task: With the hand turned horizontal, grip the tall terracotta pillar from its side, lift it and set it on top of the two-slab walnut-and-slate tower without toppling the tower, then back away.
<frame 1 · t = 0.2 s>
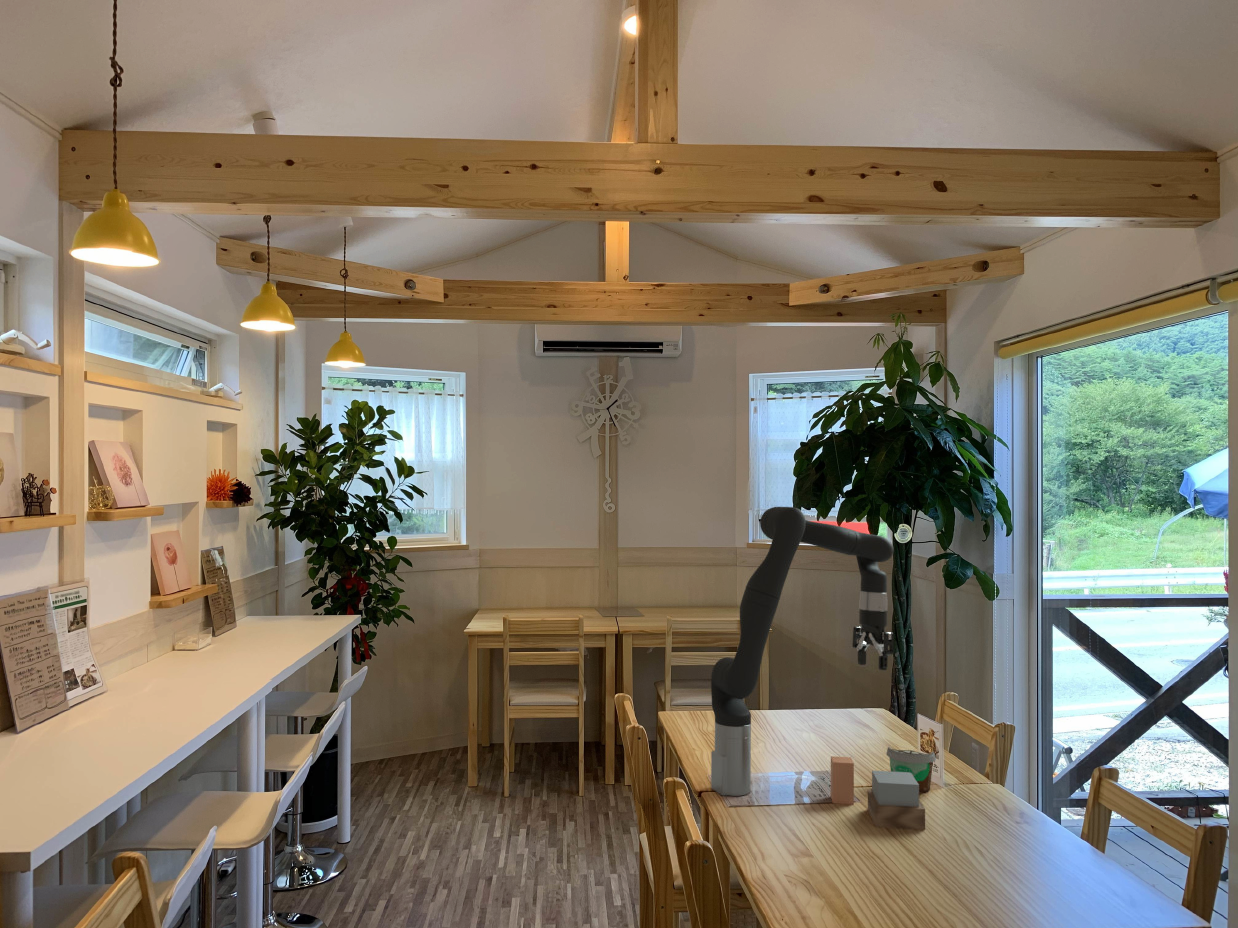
hand: (872, 667, 238), 28 cm above the table, tool pointing down, fingers open, 8 cm apart
terracotta pillar: (842, 800, 214), on the table
food container: (909, 791, 222), on the table
slate top slab: (894, 798, 202), point 5 cm above the table
walnut base slab: (895, 820, 202), on the table
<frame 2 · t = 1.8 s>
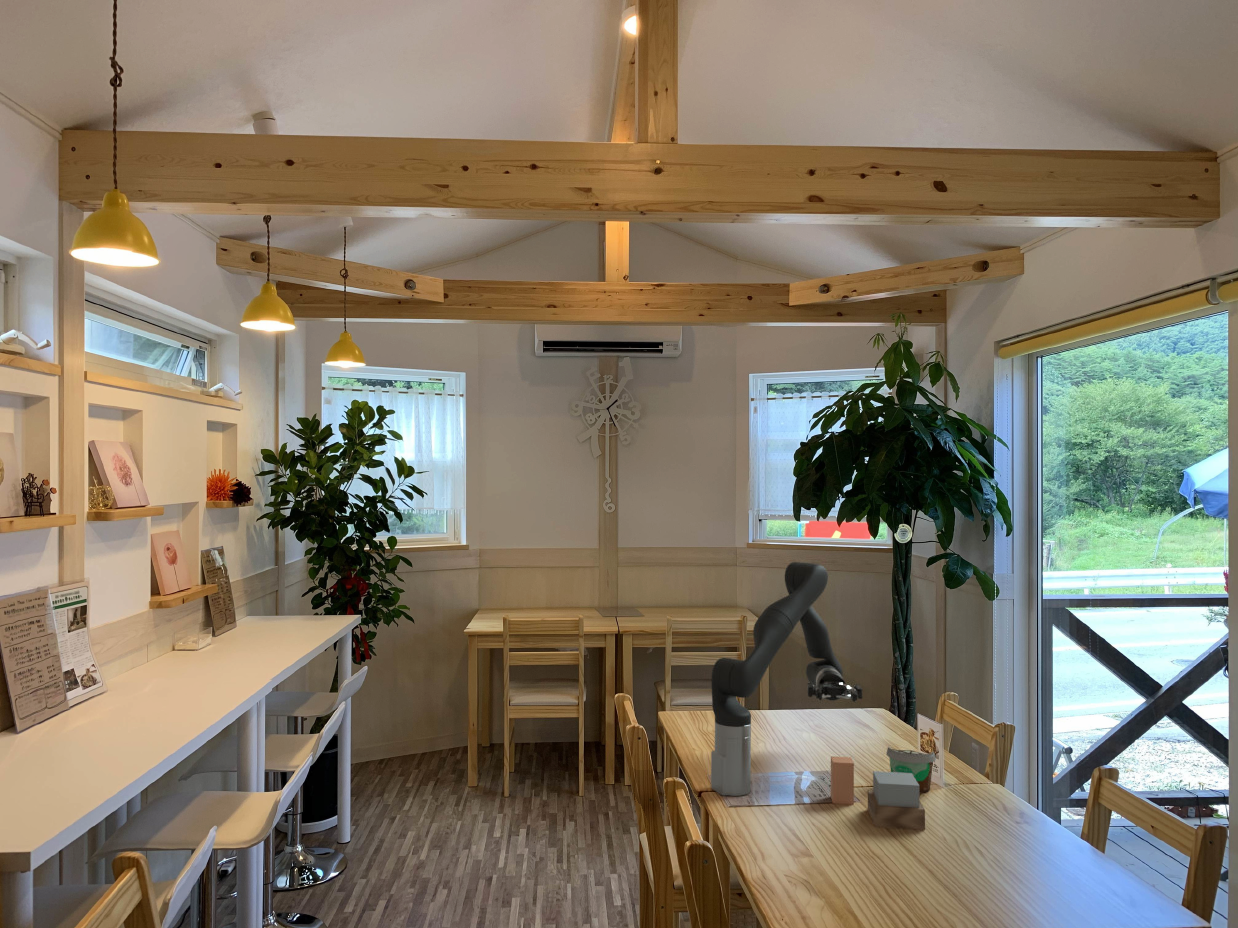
hand: (837, 696, 225), 23 cm above the table, tool horizontal, fingers open, 8 cm apart
nothing on the table moved.
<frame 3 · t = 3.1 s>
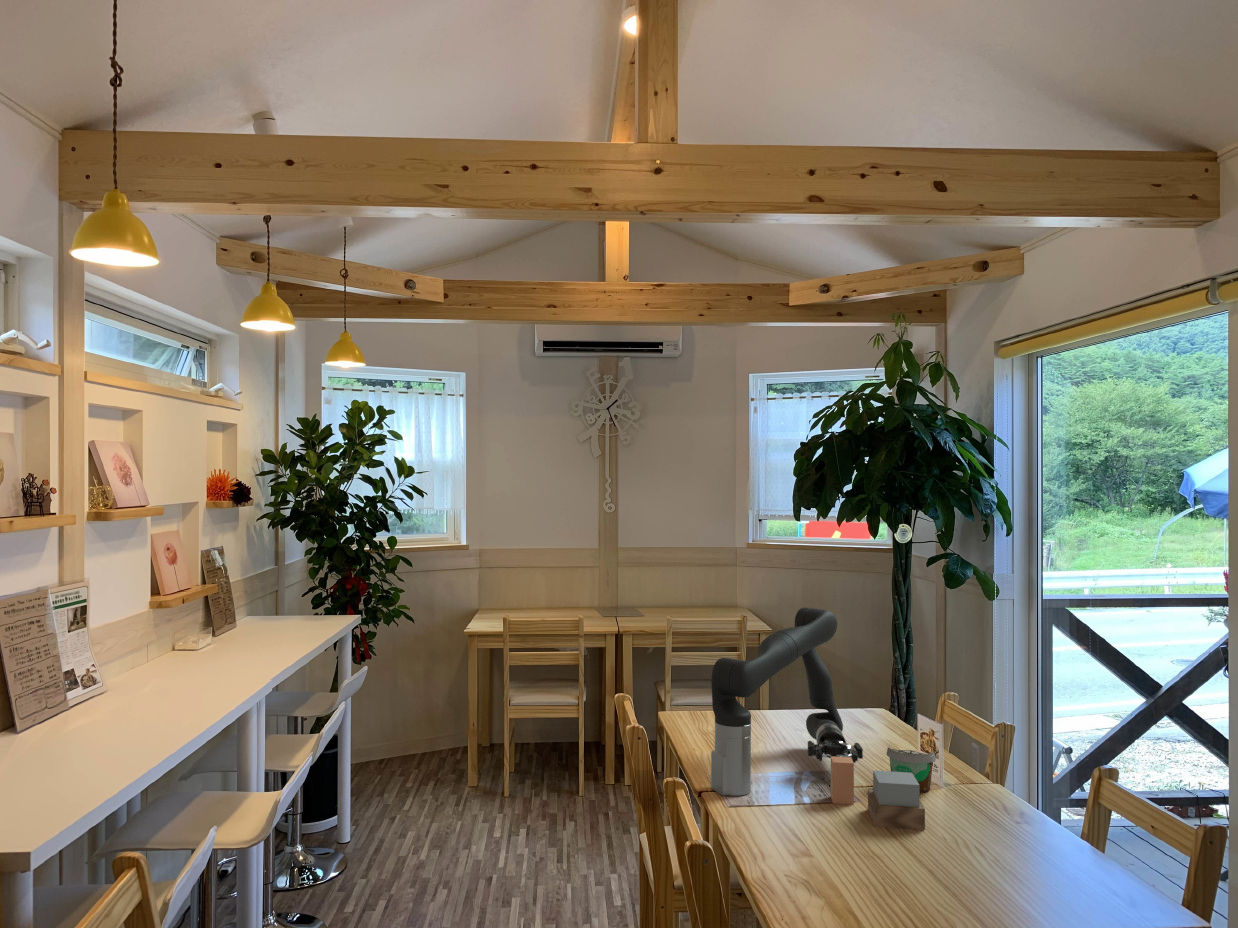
hand: (837, 757, 224), 7 cm above the table, tool horizontal, fingers open, 8 cm apart
slate top slab: (895, 798, 202), point 5 cm above the table, touching walnut base slab
walnut base slab: (895, 820, 202), on the table, touching slate top slab
everything else where it was.
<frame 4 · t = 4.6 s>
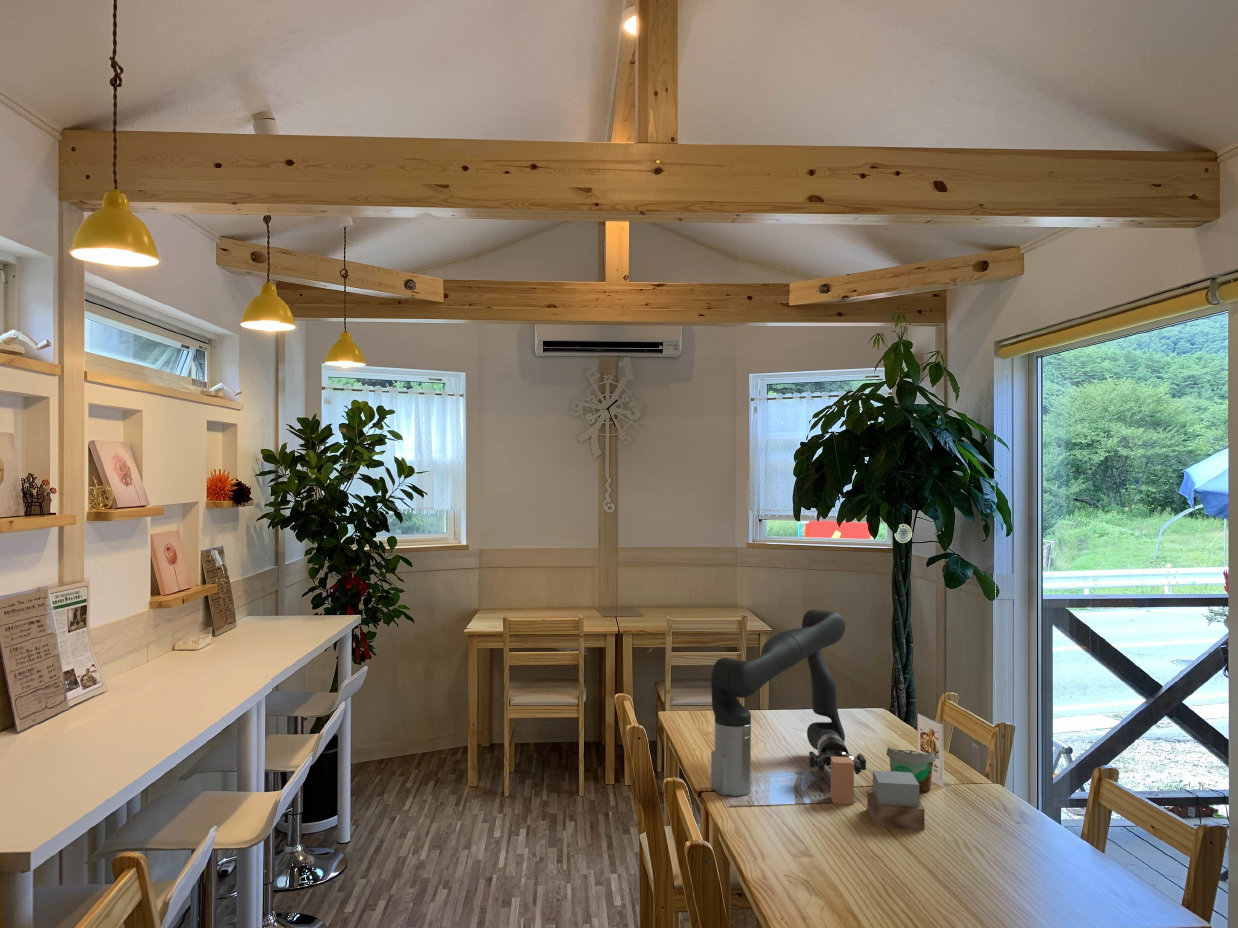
hand: (840, 769, 217), 7 cm above the table, tool horizontal, fingers open, 8 cm apart
slate top slab: (895, 798, 202), point 5 cm above the table
walnut base slab: (895, 820, 202), on the table
everything else where it was.
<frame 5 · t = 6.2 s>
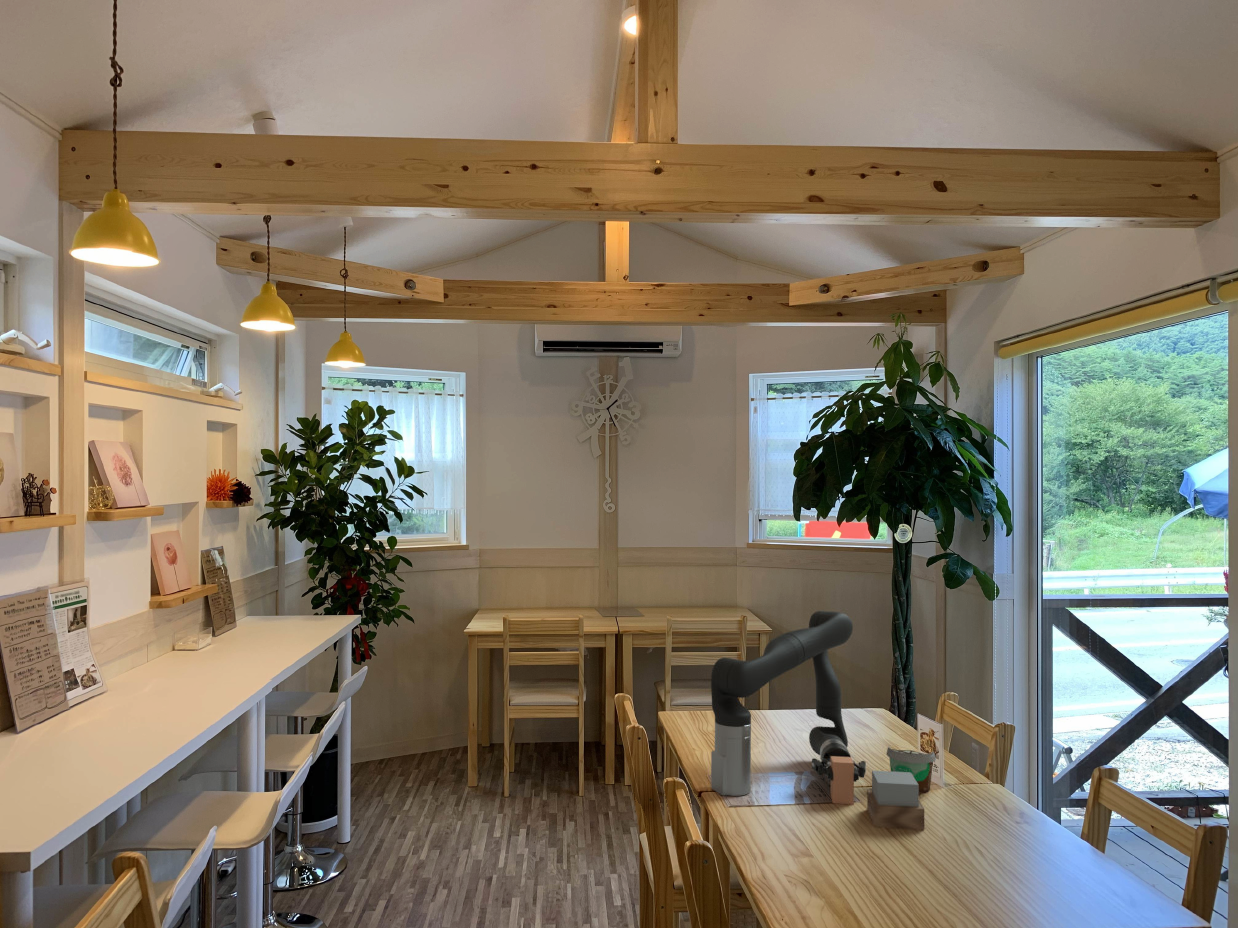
hand: (843, 776, 212), 7 cm above the table, tool horizontal, fingers closed on terracotta pillar, 5 cm apart
terracotta pillar: (842, 800, 214), on the table, touching gripper
slate top slab: (894, 798, 202), point 5 cm above the table, touching walnut base slab
walnut base slab: (894, 820, 201), on the table, touching slate top slab
everything else where it was.
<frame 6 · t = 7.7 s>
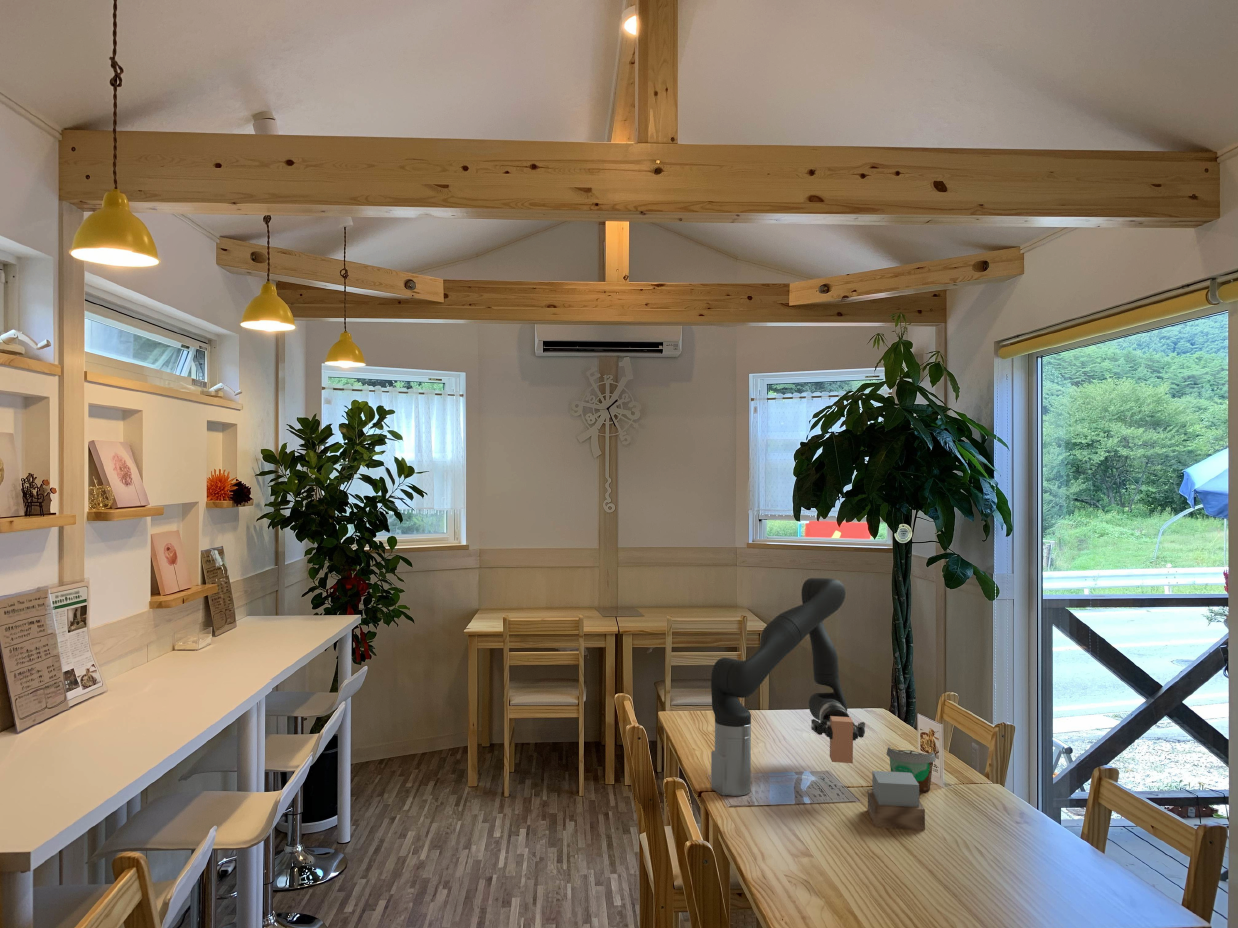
hand: (842, 735, 212), 17 cm above the table, tool horizontal, fingers closed on terracotta pillar, 5 cm apart
terracotta pillar: (841, 759, 214), point 10 cm above the table, touching gripper
everything else where it was.
when the fingers open (18 cm above the table, at t = 11.7 s): terracotta pillar drops 2 cm, point 10 cm above the table.
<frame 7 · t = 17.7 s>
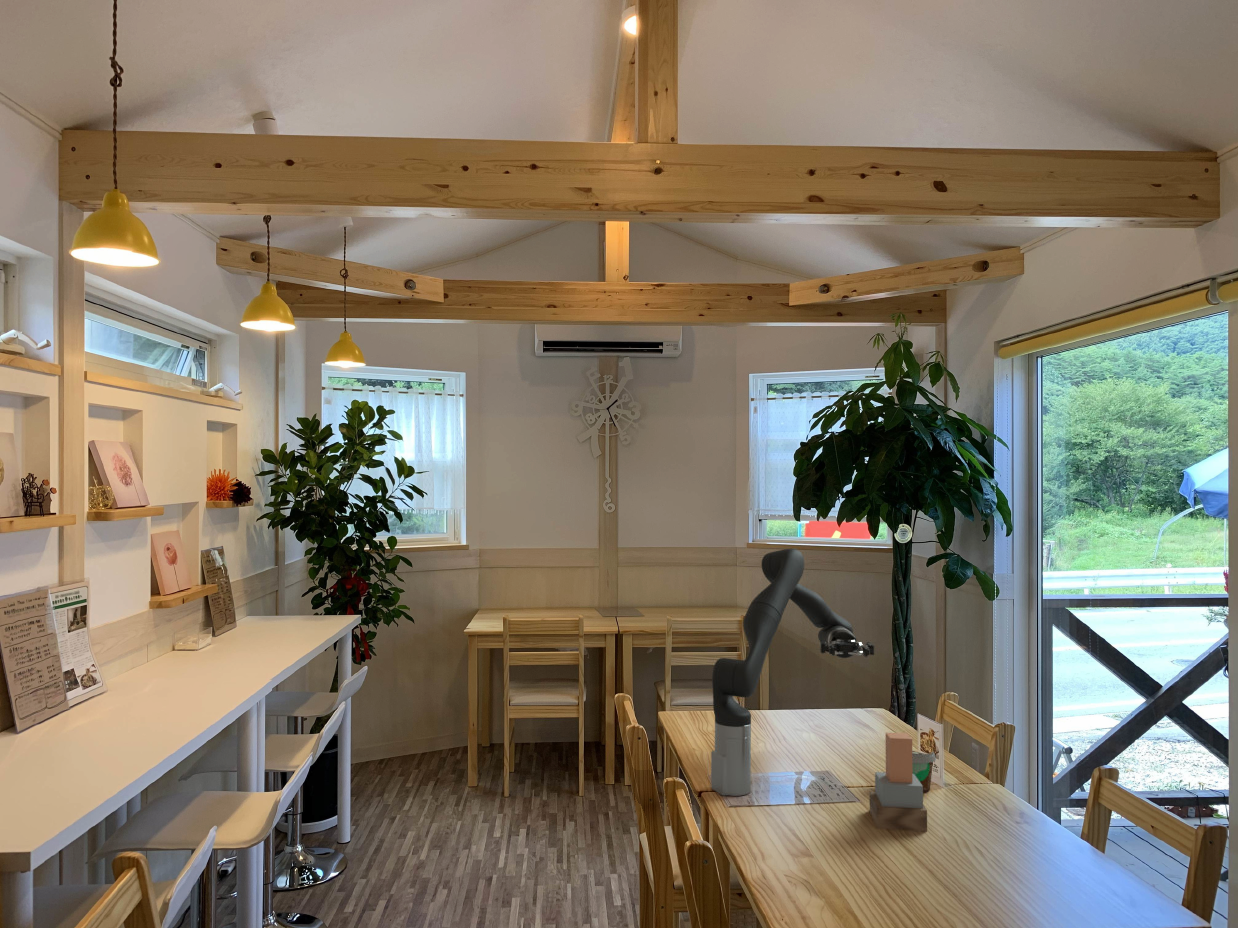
hand: (849, 652, 230), 34 cm above the table, tool horizontal, fingers open, 8 cm apart
terracotta pillar: (898, 778, 201), point 10 cm above the table
at the end: terracotta pillar inside the target area on the walnut base slab (0.4 cm from its centre), point 10.0 cm above the walnut base slab's base; slate top slab 0.2 cm off-centre on the walnut base slab, point 5.0 cm above the walnut base slab's base; terracotta pillar tilted 0° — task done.
